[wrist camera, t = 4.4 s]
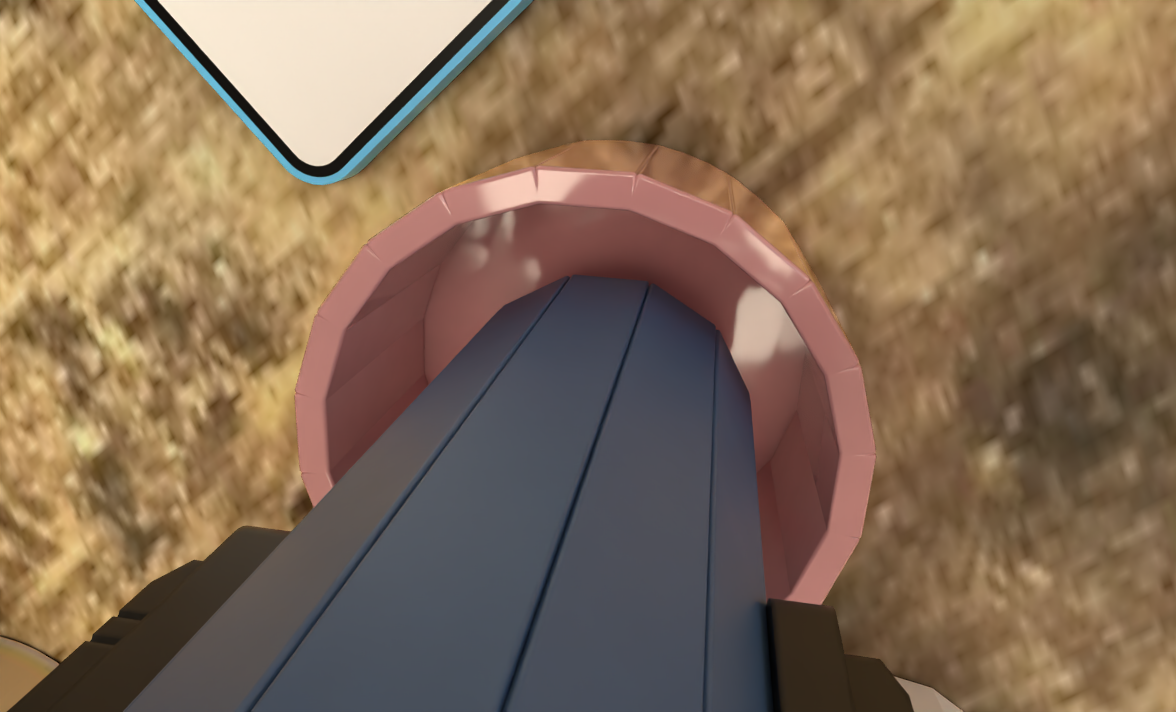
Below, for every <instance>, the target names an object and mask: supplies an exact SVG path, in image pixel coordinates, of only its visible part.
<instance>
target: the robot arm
mask: <svg viewBox="0 0 1176 712" xmlns="http://www.w3.org/2000/svg"><path fill="white" fill-rule="evenodd" d="M289 534H290V532H289V531H282V530H275V529H267V528H260V527H252V526H243V527H241V528H239V529H237V530H236V531H235V532H234V533H233V534H232V535H231V536H230V537H228V538H227V539H226V540H225V541H224V542H223V543H222V544H221V545H220V546H219V547H218V548H217V549H216V550H215V551H214V552H213V553H212V554H211V555H209V556H208V557H207V558H206V559H205V560H204V561H198V560H193V561H191V562H189V563H187V564H185V565H183V566H181V567H179V568H177V569H175V570H174V571H172V572H170V573H168V574H166V575H164V576H162V577H160V578H158V579H156V580H154V581H152V582H151V583H150V584H149V585H147V586H146V587H145V588H144V589H143V590H142V591H141V592H140V593H138V594H137V595H136V596H135V597H134V598H133V599H132V600H131V601H130V602H128V603H127V604H126V605H125V606H124V607H123V608H122V609H121V610H120V611H119V615H118V617H112V618H111V619H110V620H108V621H107V622H106V623H105V624H104V625H103V626H102V627H101V628H99V629H98V630H97V631H96V632H95V633H94V634H93V636H92V640H91V641H90V642H88V641H85V642H84V643H83V644H82V645H81V646H79V647H78V648H77V649H76V650H75V651H74V652H73V653H72V654H70V655H69V656H68V657H67V658H66V659H65V660H64V661H63V662H62V663H60V664H59V665H58V666H57V667H56V668H55V669H54V670H53V671H52V672H50V673H49V674H48V675H47V676H46V677H45V678H44V679H43V680H42V681H40V682H39V683H38V684H37V685H36V686H35V687H34V688H33V689H31V690H30V691H29V692H28V693H27V694H26V695H25V696H24V697H23V698H21V699H20V700H19V701H18V702H17V703H16V704H15V705H14V706H13V707H11V708H10V709H9V710H8V711H7V712H123V711H124V710H125V709H126V708H127V707H128V705H129V704H130V703H131V702H132V701H133V700H134V699H135V698H136V697H137V696H138V695H139V694H140V693H141V692H142V691H143V689H144V688H145V687H146V686H147V685H148V684H149V683H150V682H151V681H152V680H153V679H154V678H155V677H156V676H157V674H158V673H159V672H160V671H161V670H162V669H163V668H164V667H165V666H166V665H167V664H168V663H169V662H170V661H171V660H172V658H173V657H174V656H175V655H176V654H177V653H178V652H179V651H180V650H181V649H182V648H183V647H184V646H185V645H186V644H187V642H188V641H189V640H190V639H191V638H192V637H193V636H194V635H195V634H196V633H197V632H198V631H199V630H200V629H201V627H202V626H203V625H204V624H205V623H206V622H207V621H208V620H209V619H210V618H211V617H212V616H213V615H214V614H215V613H216V611H217V610H218V609H219V608H220V607H221V606H222V605H223V604H224V603H225V602H226V601H227V600H228V599H229V598H230V597H231V595H232V594H233V593H234V592H235V591H236V590H237V589H238V588H239V587H240V586H241V585H242V584H243V583H244V582H245V581H246V579H247V578H248V577H249V576H250V575H251V574H252V573H253V572H254V571H255V570H256V569H257V568H258V567H259V566H260V564H261V563H262V562H263V561H264V560H265V559H266V558H267V557H268V556H269V555H270V554H271V553H272V552H273V551H274V550H275V548H276V547H277V546H278V545H279V544H280V543H281V542H282V541H283V540H284V539H285V538H286V537H287V536H288V535H289ZM766 616H767V629H768V642H769V656H770V669H771V682H772V695H773V708H774V712H914V710H913V707H912V703H911V700H910V696H909V694H908V693H907V692H906V691H905V690H904V688H903V687H902V686H901V685H900V683H899V682H898V681H897V680H896V678H895V677H894V676H893V675H892V673H891V672H890V671H889V670H888V669H887V667H886V666H885V665H884V664H883V662H882V661H881V660H880V659H875V658H868V657H861V656H854V655H847V654H844V650H843V645H842V640H841V635H840V630H839V626H838V621H837V616H836V612H835V609H834V608H833V607H832V606H825V605H818V604H810V603H803V602H796V601H788V600H781V599H774V598H769V599H768V601H767V604H766Z"/></svg>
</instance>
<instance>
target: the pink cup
mask: <svg viewBox="0 0 1176 712" xmlns="http://www.w3.org/2000/svg"><path fill="white" fill-rule="evenodd" d="M574 274H575V275H586V276H597V277H608V278H619V279H630V280H642V281H648V282H649V286H650V285H651V284H652V283H653V284H656V285H657V286H659V287H660V288H661V289H663V290H664V291H666V292H667V293H669V294H670V295H672V296H673V297H675V298H676V299H678V300H679V301H680V302H682V303H683V304H685V305H686V306H688V307H689V308H691V309H692V310H694V311H695V312H697V313H698V314H700V315H701V316H702V317H704V318H705V319H707V320H708V321H710V322H711V323H713V324H714V325H715V326H716V330H719V331H720V332H721V334H722V336H723V338H724V341H725V343H726V345H727V347H728V349H729V351H730V353H731V355H732V357H733V360H734V362H735V364H736V366H737V368H738V370H739V372H740V374H741V377H742V379H743V381H744V383H745V385H746V387H747V389H748V391H749V394H750V400H751V412H752V424H753V437H754V450H755V463H756V476H757V488H758V501H759V514H760V527H761V539H762V552H763V565H764V578H765V590H766V603H767V601H768V599H769V598H774V599H781V600H788V601H796V602H803V603H810V604H818V605H821V604H822V603H823V601H824V599H825V598H826V596H827V594H828V592H829V591H830V589H831V587H832V586H833V584H834V582H835V581H836V579H837V577H838V576H839V574H840V572H841V571H842V569H843V567H844V566H845V564H846V562H847V561H848V559H849V557H850V556H851V554H852V552H853V550H854V549H855V547H856V545H857V544H858V542H859V538H861V536H862V532H863V526H864V521H865V516H866V510H867V505H868V499H869V494H870V489H871V483H872V478H873V472H874V467H875V462H876V454H875V451H876V445H875V440H874V434H873V429H872V423H871V417H870V412H869V406H868V400H867V395H866V389H865V384H864V378H863V372H862V367H861V365H860V363H859V359H858V357H857V355H856V353H855V351H854V349H853V347H852V345H851V343H850V341H849V340H848V338H847V336H846V334H845V332H844V330H843V328H842V326H841V324H840V322H839V320H838V318H837V316H836V314H835V312H834V310H833V308H832V306H831V304H830V303H829V301H828V299H827V297H826V295H825V293H824V291H823V289H822V287H821V285H820V283H819V281H818V279H817V278H816V276H815V274H814V272H813V271H812V269H811V267H810V265H809V264H808V262H807V260H806V259H805V257H804V255H803V253H802V252H801V250H800V248H799V246H798V244H797V243H796V241H795V240H794V238H793V236H792V234H791V233H790V231H789V229H788V227H787V226H786V224H785V223H783V221H782V219H781V218H779V217H778V216H777V215H776V214H775V213H774V212H773V211H771V210H770V209H769V207H768V206H767V205H766V204H765V203H764V202H763V201H762V200H761V199H760V198H759V197H758V196H756V195H755V194H754V193H753V192H751V191H750V190H749V189H748V188H746V187H745V186H744V185H743V184H741V183H740V182H739V181H738V180H736V179H735V178H733V177H732V176H731V175H729V174H727V173H726V172H725V171H722V170H720V169H718V168H716V167H715V166H713V165H711V164H709V163H707V162H705V161H702V160H700V159H698V158H695V157H693V156H690V155H688V154H686V153H683V152H680V151H677V150H673V149H669V148H666V147H664V146H658V145H656V144H648V143H641V142H633V141H626V140H586V141H578V142H574V143H570V144H565V145H561V146H558V147H554V148H550V149H547V150H543V151H540V152H537V153H533V154H529V155H525V156H522V157H518V158H516V159H514V160H511V161H509V162H507V163H504V164H502V165H500V166H497V167H495V168H493V169H490V170H488V171H486V172H484V173H481V174H479V175H477V176H474V177H472V178H470V179H467V180H465V181H463V182H460V183H458V184H456V185H454V186H451V187H449V188H447V189H445V190H443V191H440V192H438V193H436V194H435V195H433V196H432V197H430V198H429V199H428V200H426V201H425V202H423V203H422V204H420V205H419V206H417V207H416V208H414V209H413V210H411V211H410V212H409V213H407V214H406V215H404V216H403V217H401V218H400V219H398V220H397V221H395V222H394V223H393V224H391V225H390V226H388V227H387V228H385V229H384V230H382V231H381V232H379V233H378V234H377V235H375V236H374V237H372V238H371V239H369V240H368V242H367V244H365V245H363V246H362V248H361V249H360V251H359V252H358V253H357V255H356V256H355V258H354V259H353V261H352V262H351V263H350V265H349V266H348V268H347V269H346V270H345V272H344V273H343V275H342V276H341V277H340V279H339V280H338V282H337V283H336V285H335V286H334V287H333V289H332V290H331V292H330V293H329V294H328V296H327V297H326V299H325V300H324V302H323V303H322V304H321V306H320V307H319V309H318V312H317V314H316V315H315V317H314V321H313V325H312V328H311V332H310V336H309V339H308V343H307V347H306V351H305V354H304V358H303V362H302V365H301V369H300V373H299V376H298V380H297V384H296V388H295V392H296V393H295V411H296V425H297V439H298V453H299V467H300V471H301V472H302V473H301V477H302V480H303V482H304V485H305V487H306V490H307V492H308V495H309V497H310V500H311V502H312V505H313V507H315V506H316V505H317V504H318V503H319V501H320V500H321V499H322V498H323V497H324V496H325V495H326V494H327V493H328V492H329V491H330V490H331V489H332V488H333V487H334V485H335V484H336V483H337V482H338V481H339V480H340V479H341V478H342V477H343V476H344V475H345V474H346V473H347V472H348V470H349V469H350V468H351V467H352V466H353V465H354V464H355V463H356V462H357V461H358V460H359V459H360V458H361V457H362V456H363V454H364V453H365V452H366V451H367V450H368V449H369V448H370V447H371V446H372V445H373V444H374V443H375V442H376V441H377V440H378V438H379V437H380V436H381V435H382V434H383V433H384V432H385V431H386V430H387V429H388V428H389V427H390V426H391V425H392V424H393V422H394V421H395V420H396V419H397V418H398V417H399V416H400V415H401V414H402V413H403V412H404V411H405V410H406V409H407V407H408V406H409V405H410V404H411V403H412V402H413V401H414V400H415V399H416V398H417V397H418V396H419V395H420V394H421V393H422V391H423V390H424V389H425V388H426V387H427V386H428V385H429V384H430V383H431V382H432V381H433V380H434V379H435V378H436V377H437V375H438V374H439V373H440V372H441V371H442V370H443V369H444V368H445V367H446V366H447V365H448V364H449V363H450V362H451V360H452V359H453V358H454V357H455V356H456V355H457V354H458V353H459V352H460V351H461V350H462V349H463V348H464V347H465V346H466V344H467V343H468V342H469V341H470V340H471V339H472V338H473V337H474V336H475V335H476V334H477V333H478V332H479V331H480V330H481V328H482V327H483V326H484V325H485V324H486V323H487V322H488V321H489V320H490V319H491V318H492V317H493V316H494V315H495V314H496V312H497V311H498V310H499V309H501V308H502V307H503V306H504V305H505V304H507V303H510V302H512V301H514V300H516V299H518V298H520V297H522V296H525V295H527V294H529V293H531V292H533V291H535V290H537V289H539V288H542V287H544V286H546V285H548V284H550V283H552V282H554V281H556V280H559V279H561V278H563V277H565V276H569V277H570V278H571V276H572V275H574Z"/></svg>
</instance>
